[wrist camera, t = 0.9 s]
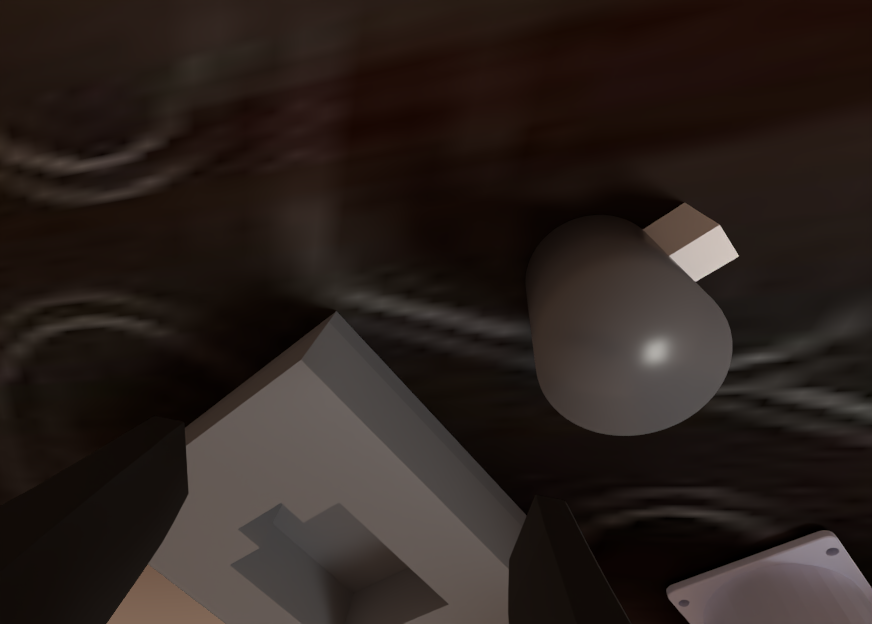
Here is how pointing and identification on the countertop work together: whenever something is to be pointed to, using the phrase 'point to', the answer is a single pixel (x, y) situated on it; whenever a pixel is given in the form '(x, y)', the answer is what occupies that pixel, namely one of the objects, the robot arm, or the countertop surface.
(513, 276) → the countertop surface
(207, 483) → the foam packaging insert
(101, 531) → the robot arm
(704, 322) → the dark grey rounded piece
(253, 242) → the countertop surface
